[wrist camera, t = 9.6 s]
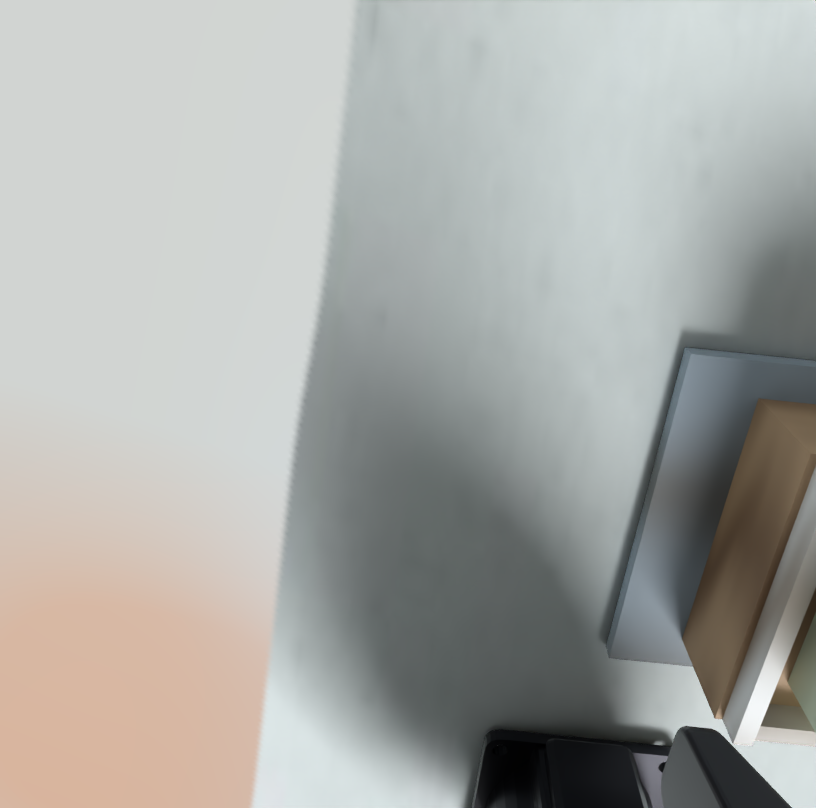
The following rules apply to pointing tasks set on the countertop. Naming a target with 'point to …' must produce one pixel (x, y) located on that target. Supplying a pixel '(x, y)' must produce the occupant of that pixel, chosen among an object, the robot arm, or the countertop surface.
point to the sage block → (806, 675)
